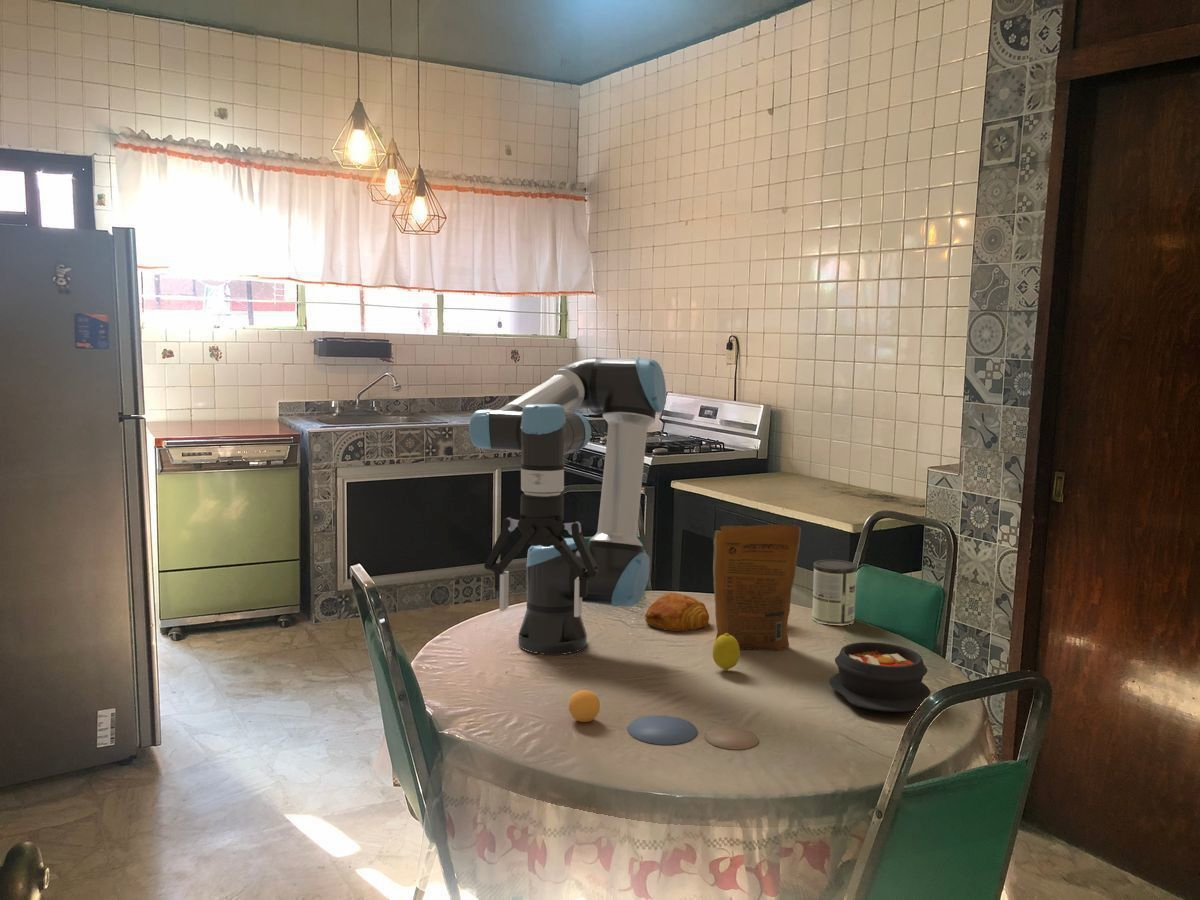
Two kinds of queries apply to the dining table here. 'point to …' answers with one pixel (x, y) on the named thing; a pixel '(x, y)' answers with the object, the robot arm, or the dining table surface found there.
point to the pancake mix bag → (755, 583)
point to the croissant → (677, 613)
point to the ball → (584, 705)
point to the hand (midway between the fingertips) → (540, 612)
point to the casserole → (880, 677)
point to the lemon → (726, 651)
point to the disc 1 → (662, 730)
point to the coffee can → (834, 591)
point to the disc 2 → (732, 738)
